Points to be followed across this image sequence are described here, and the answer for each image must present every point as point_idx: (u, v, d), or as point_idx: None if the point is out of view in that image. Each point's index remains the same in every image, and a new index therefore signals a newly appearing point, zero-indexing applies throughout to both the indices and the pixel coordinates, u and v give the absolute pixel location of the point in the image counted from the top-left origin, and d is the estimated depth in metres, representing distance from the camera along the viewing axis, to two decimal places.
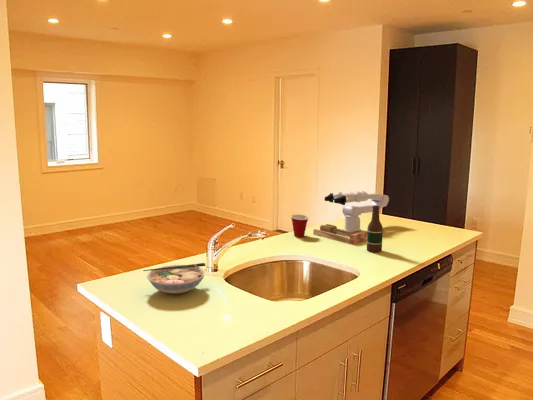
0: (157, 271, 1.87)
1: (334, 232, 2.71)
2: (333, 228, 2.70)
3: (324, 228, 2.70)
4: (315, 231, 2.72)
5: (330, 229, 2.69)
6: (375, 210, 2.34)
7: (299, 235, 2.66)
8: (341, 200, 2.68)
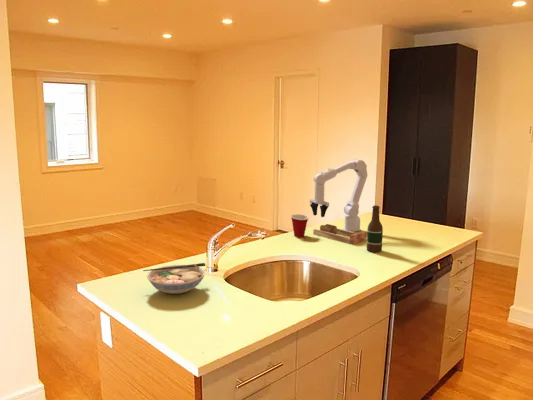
0: (157, 271, 1.87)
1: (334, 232, 2.71)
2: (333, 228, 2.70)
3: (324, 228, 2.70)
4: (315, 231, 2.72)
5: (330, 229, 2.69)
6: (375, 210, 2.34)
7: (299, 235, 2.66)
8: (323, 208, 2.74)
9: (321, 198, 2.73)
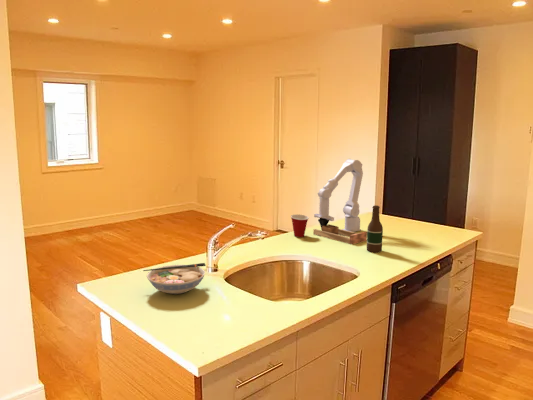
0: (157, 271, 1.87)
1: (336, 232, 2.70)
2: (335, 228, 2.69)
3: (326, 228, 2.69)
4: (315, 231, 2.72)
5: (332, 229, 2.68)
6: (375, 210, 2.34)
7: (299, 235, 2.66)
8: None
9: (326, 213, 2.71)
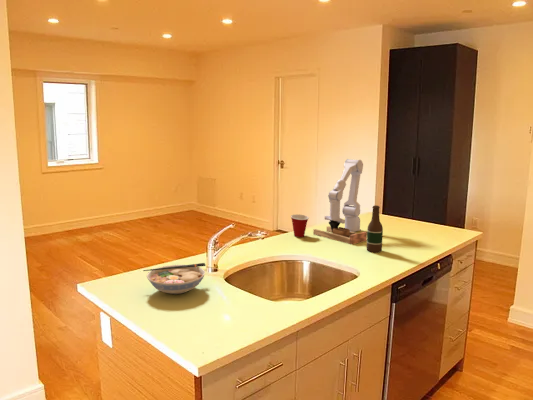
0: (157, 271, 1.87)
1: (347, 235, 2.64)
2: (346, 231, 2.63)
3: (337, 231, 2.63)
4: (315, 231, 2.72)
5: (343, 232, 2.61)
6: (375, 210, 2.34)
7: (299, 235, 2.66)
8: None
9: (337, 215, 2.65)
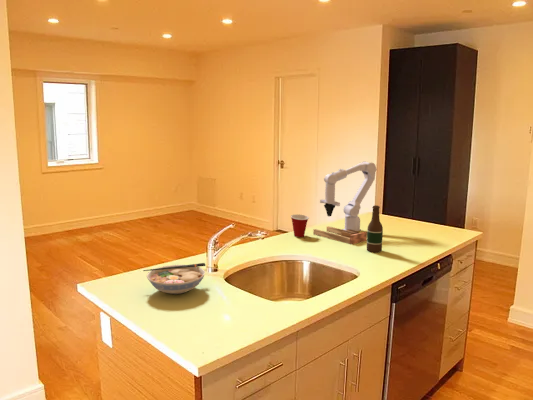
0: (157, 271, 1.87)
1: None
2: (355, 233, 2.58)
3: (346, 233, 2.58)
4: (315, 231, 2.72)
5: None
6: (375, 210, 2.34)
7: (299, 235, 2.66)
8: None
9: (332, 198, 2.73)
